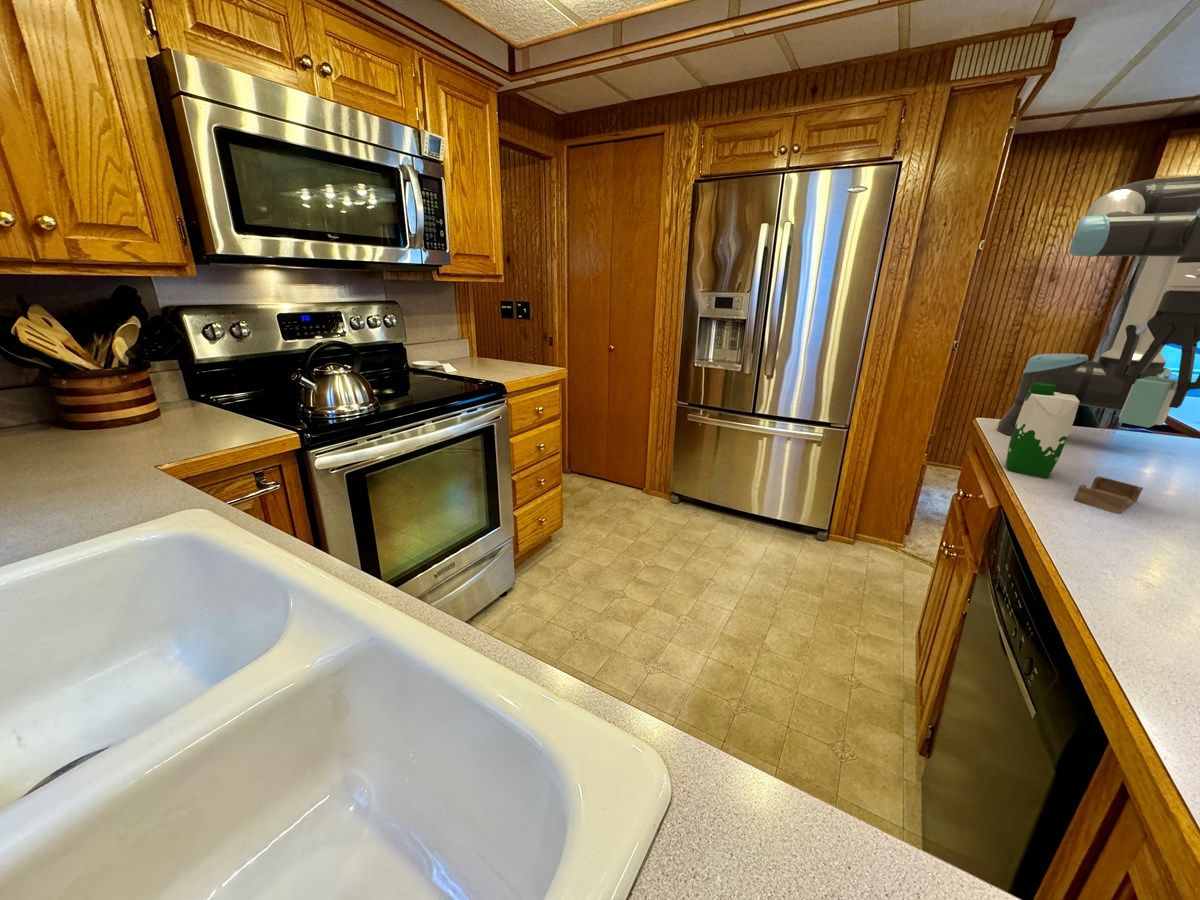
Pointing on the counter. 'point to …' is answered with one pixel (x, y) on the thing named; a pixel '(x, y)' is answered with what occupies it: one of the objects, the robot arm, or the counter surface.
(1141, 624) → the counter surface
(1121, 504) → the holder
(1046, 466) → the milk carton
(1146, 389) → the key block
